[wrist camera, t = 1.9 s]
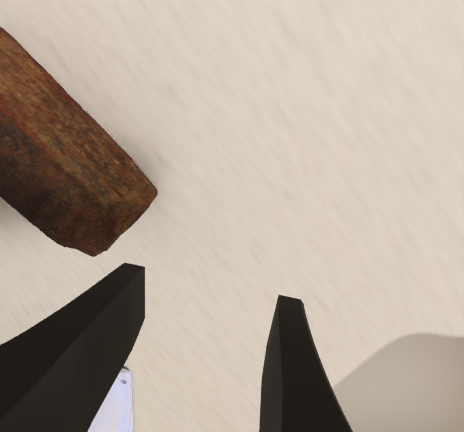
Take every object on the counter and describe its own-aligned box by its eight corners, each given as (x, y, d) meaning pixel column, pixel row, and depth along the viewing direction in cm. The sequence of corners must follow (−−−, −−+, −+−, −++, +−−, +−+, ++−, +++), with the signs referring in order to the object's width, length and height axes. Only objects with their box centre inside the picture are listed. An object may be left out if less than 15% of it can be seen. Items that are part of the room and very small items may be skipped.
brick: (-34, 78, 20) (-122, 101, 16) (3, 20, 18) (-86, 29, 14) (121, 224, 22) (80, 274, 18) (166, 187, 21) (131, 233, 17)
